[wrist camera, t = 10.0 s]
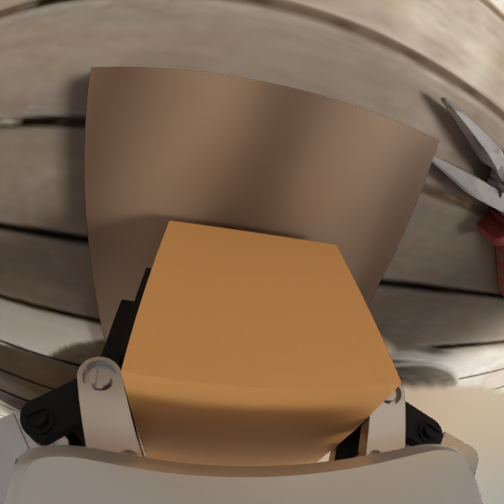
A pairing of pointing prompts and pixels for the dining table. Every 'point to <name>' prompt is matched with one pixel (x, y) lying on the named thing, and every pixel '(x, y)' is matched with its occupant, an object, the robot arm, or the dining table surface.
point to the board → (239, 171)
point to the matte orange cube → (251, 350)
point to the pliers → (481, 183)
